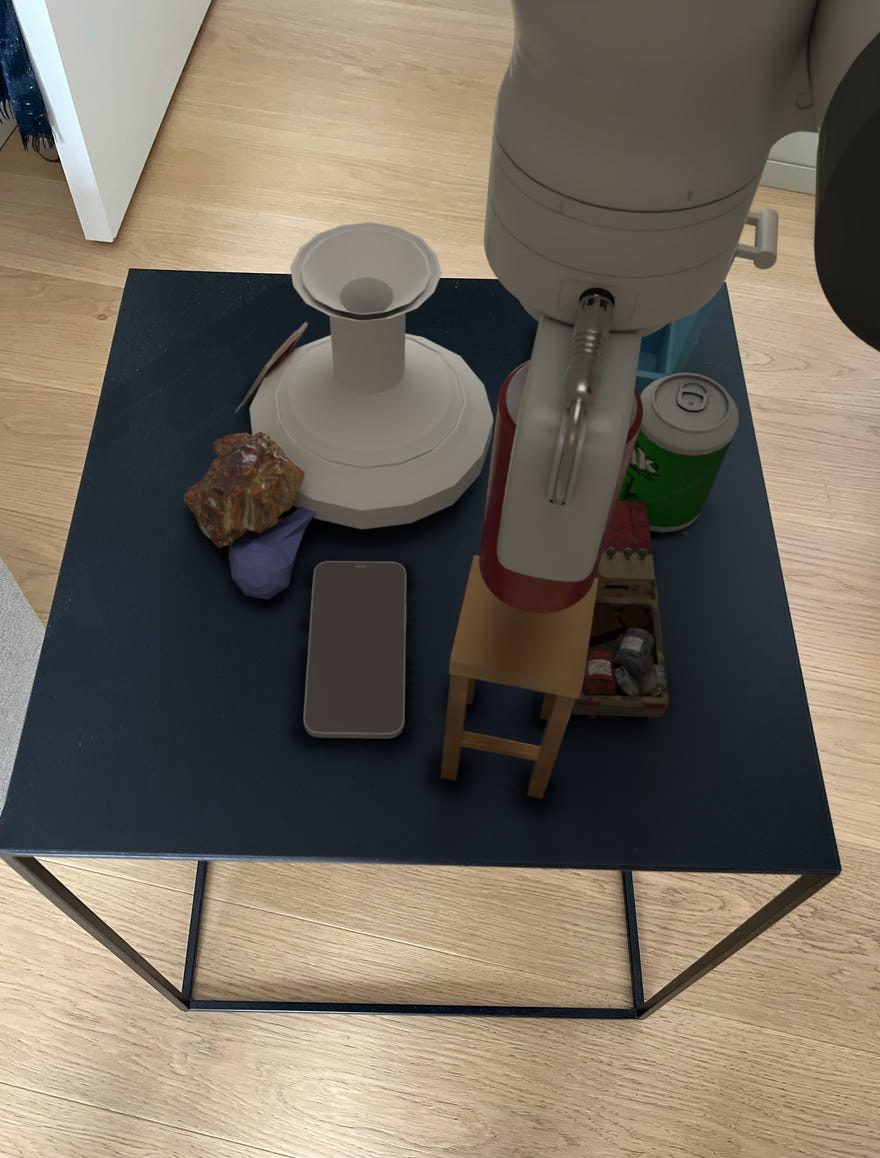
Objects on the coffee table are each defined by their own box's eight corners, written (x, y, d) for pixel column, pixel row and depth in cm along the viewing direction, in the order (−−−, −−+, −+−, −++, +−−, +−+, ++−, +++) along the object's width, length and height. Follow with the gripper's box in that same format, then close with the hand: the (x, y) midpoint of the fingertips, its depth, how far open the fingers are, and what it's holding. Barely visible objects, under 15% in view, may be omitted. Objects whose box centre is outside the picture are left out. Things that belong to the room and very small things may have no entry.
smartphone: (301, 733, 71) (313, 560, 78) (302, 738, 72) (314, 567, 79) (404, 734, 71) (406, 561, 78) (404, 739, 72) (406, 568, 79)
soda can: (707, 482, 84) (751, 378, 74) (691, 550, 80) (734, 450, 70) (620, 460, 85) (651, 354, 75) (600, 526, 82) (630, 424, 71)
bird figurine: (201, 578, 74) (218, 557, 80) (268, 618, 75) (280, 595, 81) (254, 489, 72) (267, 475, 78) (322, 532, 73) (331, 515, 79)
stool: (558, 707, 73) (598, 577, 58) (543, 800, 69) (582, 686, 55) (458, 687, 74) (473, 554, 59) (438, 778, 70) (449, 660, 55)
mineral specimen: (228, 411, 81) (262, 481, 85) (149, 459, 79) (187, 529, 82) (298, 439, 72) (332, 516, 76) (211, 494, 69) (250, 570, 73)
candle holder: (486, 556, 80) (509, 381, 63) (240, 544, 80) (199, 366, 64) (490, 378, 90) (511, 186, 73) (272, 368, 91) (243, 175, 74)
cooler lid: (726, 249, 68) (789, 263, 68) (735, 152, 74) (792, 164, 74) (670, 376, 79) (723, 388, 79) (681, 282, 85) (731, 294, 85)
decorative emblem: (314, 325, 89) (247, 410, 92) (311, 322, 89) (243, 407, 92) (302, 324, 79) (227, 420, 82) (299, 321, 79) (223, 417, 82)
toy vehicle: (637, 534, 81) (658, 472, 75) (658, 732, 72) (685, 682, 65) (552, 531, 81) (566, 470, 75) (563, 729, 72) (580, 679, 65)
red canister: (601, 529, 54) (650, 361, 43) (587, 624, 51) (636, 467, 40) (489, 509, 54) (511, 340, 44) (469, 601, 51) (487, 442, 41)
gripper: (683, 443, 29) (599, 673, 40) (722, 59, 39) (646, 332, 51) (469, 408, 29) (448, 644, 41) (563, 39, 40) (525, 314, 51)
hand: (558, 469), depth 46 cm, fingers closed on red canister, 6 cm apart
